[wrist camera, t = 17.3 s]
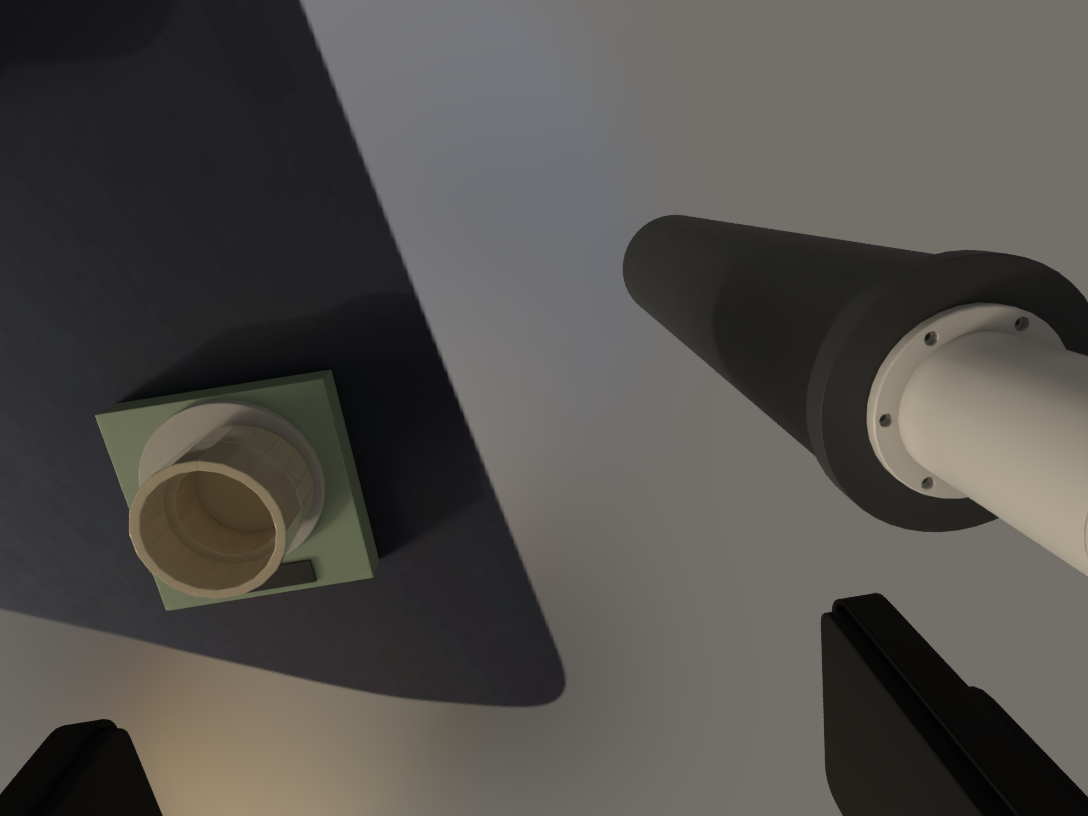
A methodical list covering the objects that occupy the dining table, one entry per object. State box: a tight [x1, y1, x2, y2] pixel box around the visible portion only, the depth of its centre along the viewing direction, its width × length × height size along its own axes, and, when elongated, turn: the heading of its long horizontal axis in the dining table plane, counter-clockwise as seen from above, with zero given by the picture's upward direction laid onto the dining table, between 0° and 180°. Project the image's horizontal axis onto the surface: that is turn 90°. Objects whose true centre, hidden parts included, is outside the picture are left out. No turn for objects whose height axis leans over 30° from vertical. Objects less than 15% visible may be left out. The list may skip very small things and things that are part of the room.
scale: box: [95, 370, 379, 611], centre depth 39 cm, size 12×12×3 cm
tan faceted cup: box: [129, 425, 314, 599], centre depth 35 cm, size 7×7×6 cm
